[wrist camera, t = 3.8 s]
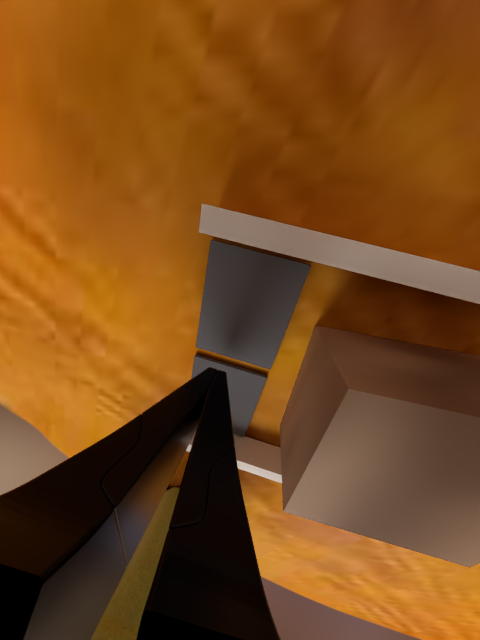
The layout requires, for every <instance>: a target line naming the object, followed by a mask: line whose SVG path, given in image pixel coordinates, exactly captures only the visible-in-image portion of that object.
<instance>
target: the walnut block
mask: <svg viewBox="0 0 480 640" xmlns="http://www.w3.org/2000/svg"><path fill="white" fill-rule="evenodd" d="M280 441H281V467H282V492H283V512H286V513H289V514H293V515H296V516H299V517H303V518H306V519H309V520H313V521H316V522H319V523H323V524H326V525H329V526H333V527H336V528H339V529H343V530H346V531H349V532H353V533H356V534H359V535H363V536H366V537H369V538H373V539H376V540H379V541H383V542H386V543H389V544H393V545H396V546H400V547H403V548H406V549H410V550H413V551H416V552H420V553H423V554H426V555H430V556H433V557H436V558H440V559H443V560H446V561H450V562H453V563H456V564H460V565H463V566H466V567H472V566H474V565H476V564H479V563H480V356H478V355H473V354H467V353H462V352H457V351H451V350H446V349H441V348H435V347H430V346H425V345H419V344H414V343H408V342H403V341H398V340H392V339H387V338H382V337H376V336H371V335H366V334H360V333H355V332H350V331H344V330H339V329H333V328H328V327H323V326H317V325H315V327H314V330H313V333H312V336H311V339H310V342H309V345H308V347H307V350H306V353H305V356H304V359H303V362H302V365H301V367H300V370H299V373H298V376H297V379H296V382H295V385H294V387H293V390H292V393H291V396H290V399H289V402H288V405H287V407H286V410H285V413H284V416H283V419H282V422H281V425H280Z"/></svg>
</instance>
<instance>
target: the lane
mask: <svg viewBox="0 0 480 640" xmlns="http://www.w3.org/2000/svg"><path fill="white" fill-rule="evenodd" d="M199 233H203V234H207V235H211V236H215V237H218V238H222V239H226V240H230V241H234V242H238V243H242V244H246V245H250V246H254V247H258V248H262V249H266V250H269V251H273V252H277V253H281V254H285V255H289V256H293V257H297V258H301V259H305V260H309V261H313V262H316V263H320V264H324V265H328V266H332V267H336V268H340V269H344V270H348V271H352V272H356V273H360V274H364V275H367V276H371V277H375V278H379V279H383V280H387V281H391V282H395V283H399V284H403V285H407V286H411V287H415V288H418V289H422V290H426V291H430V292H434V293H438V294H442V295H446V296H450V297H454V298H458V299H462V300H465V301H469V302H473V303H477V304H480V271H477V270H473V269H469V268H465V267H461V266H457V265H453V264H449V263H445V262H440V261H436V260H432V259H428V258H424V257H420V256H416V255H412V254H408V253H403V252H399V251H395V250H391V249H387V248H383V247H379V246H375V245H371V244H367V243H362V242H358V241H354V240H350V239H346V238H342V237H338V236H334V235H330V234H325V233H321V232H317V231H313V230H309V229H305V228H301V227H297V226H293V225H289V224H284V223H280V222H276V221H272V220H268V219H264V218H260V217H256V216H252V215H248V214H243V213H239V212H235V211H231V210H227V209H223V208H219V207H215V206H211V205H206V204H202V206H201V215H200V225H199ZM195 433H196V431H195ZM195 433H194V435H193V437H192V439H191V441H190V443H189V445H188V447H187V449H186V451H188V452H190V451H191V447H192V444H193V440H194V436H195ZM233 435H234V446H235V451H236V460H237V467H238V469H241V470H244V471H247V472H250V473H253V474H255V475H258V476H261V477H264V478H267V479H270V480H273V481H276V482H279V483H282V467H281V448H280V447H277V446H274V445H271V444H268V443H265V442H261V441H258V440H255V439H252V438H249V437H246V436H244V437H243V436H240V435H237V434H233Z"/></svg>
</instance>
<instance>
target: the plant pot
mask: <svg viewBox="0 0 480 640" xmlns="http://www.w3.org/2000/svg"><path fill="white" fill-rule="evenodd" d="M179 489H180V488H179V487H177V488H176V487H173V488H171V489H169V490H167V491H165V493H164V495H163V497H162V499H161V501H160V503H159V505H158V507H157V509H156V511H155V513H154V515H153V517H152V519H151V521H150V523H149V525H148V527H147V529H146V531H145V533H144V535H143V537H142V539H141V541H140V543H139V545H138V547H137V549H136V551H135V553H134V555H133V557H132V559H131V561H130V562H129V564H128V566H127V567H126V571H125V573H124V575H123V577H122V579H121V580H120V582H119V584H118V586H117V588H116V590H115V592H114V594H113V596H112V598H111V600H110V602H109V604H108V606H107V608H106V610H105V612H104V614H103V616H102V618H101V620H100V622H99V624H98V626H97V628H96V630H95V632H94V634H93V636H92V638H91V640H136V639H137V635H138V630H139V626H140V621H141V617H142V613H143V610H144V607H145V604H146V601H147V598H148V595H149V591H150V588H151V585H152V582H153V579H154V575H155V572H156V569H157V566H158V562H159V559H160V556H161V552H162V549H163V545H164V542H165V539H166V535H167V532H168V529H169V524H170V521H171V517H172V514H173V510H174V507H175V503H176V500H177V496H178V493H179Z"/></svg>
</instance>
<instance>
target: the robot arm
mask: <svg viewBox="0 0 480 640" xmlns="http://www.w3.org/2000/svg"><path fill="white" fill-rule="evenodd" d="M195 431H196V433H195ZM194 433H195V436H194V440H193V444H192V447H191V451H190V454H189V458H188V461H187V465H186V468H185V472H184V475H183V479H182V482H181V486H180V489H179V493H178V496H177V500H176V503H175V507H174V510H173V514H172V517H171V521H170V524H169V529H168V532H167V535H166V539H165V542H164V545H163V549H162V552H161V556H160V559H159V562H158V566H157V569H156V572H155V575H154V579H153V582H152V585H151V588H150V591H149V595H148V598H147V601H146V604H145V607H144V610H143V613H142V617H141V621H140V626H139V630H138V635H137V639H136V640H281V639H280V637H279V634H278V631H277V629H276V626H275V623H274V621H273V618H272V615H271V612H270V608H269V605H268V601H267V598H266V595H265V591H264V587H263V584H262V580H261V576H260V572H259V568H258V563H257V559H256V554H255V550H254V545H253V541H252V536H251V532H250V527H249V523H248V518H247V514H246V509H245V505H244V500H243V495H242V490H241V485H240V480H239V474H238V467H237V460H236V451H235V446H234V435H233V426H232V417H231V408H230V399H229V390H228V382H227V373H226V372H225V371H221V370H218V371H217V369H215V368H212V367H208V368H207V369H205V370H204V371H203V372H201V373H200V374H198V375H197V376H195V377H194V378H192V379H191V380H190V381H188V382H187V383H185V384H184V385H182V386H181V387H179V388H178V389H176V390H175V391H174V392H172V393H171V394H169V395H168V396H166V397H165V398H163V399H162V400H161V401H159V402H158V403H156V404H155V405H153V406H152V407H150V408H149V409H148V410H146V411H145V412H143V413H142V415H141V414H140V415H139V416H137V417H136V418H134V419H133V420H131V421H130V422H128V423H127V424H125V425H124V426H122V427H121V428H119V429H118V430H116V431H115V432H113V433H112V434H110V435H108V436H107V437H105V438H103V439H102V440H100V441H98V442H97V443H95V444H93V445H92V446H90V447H88V448H86V449H85V450H83V451H81V452H79V453H78V454H76V455H74V456H73V457H71V458H69V459H67V460H66V461H64V462H62V463H60V464H59V465H57V466H55V467H54V468H52V469H50V470H48V471H47V472H45V473H43V474H41V475H40V476H38V477H36V478H34V479H33V480H31V481H29V482H27V483H25V484H23V485H21V486H20V487H17V488H15V489H14V490H11V491H9V492H7V493H5V494H2V495H0V640H91V638H92V636H93V634H94V632H95V630H96V628H97V626H98V624H99V622H100V620H101V618H102V616H103V614H104V612H105V610H106V608H107V606H108V604H109V602H110V600H111V598H112V596H113V594H114V592H115V590H116V588H117V586H118V584H119V582H120V580H121V579H122V577H123V575H124V573H125V571H126V567H127V566H128V564H129V562H130V561H131V559H132V557H133V555H134V553H135V551H136V549H137V547H138V545H139V543H140V541H141V539H142V537H143V535H144V533H145V531H146V529H147V527H148V525H149V523H150V521H151V519H152V517H153V515H154V513H155V511H156V509H157V507H158V505H159V503H160V501H161V499H162V497H163V495H164V493H165V491H166V489H167V487H168V485H169V483H170V481H171V479H172V477H173V475H174V473H175V471H176V469H177V467H178V465H179V463H180V461H181V459H182V457H183V455H184V453H185V451H186V449H187V447H188V445H189V443H190V441H191V439H192V437H193V435H194Z"/></svg>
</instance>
